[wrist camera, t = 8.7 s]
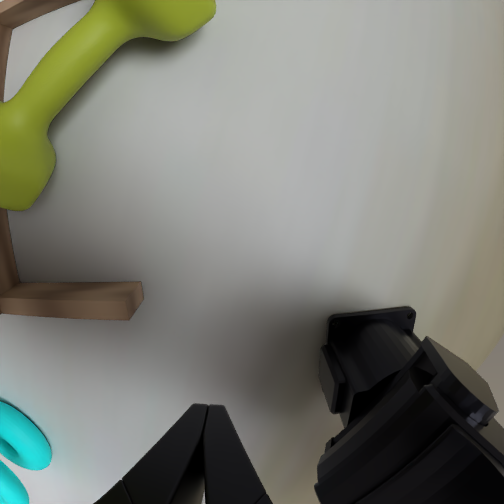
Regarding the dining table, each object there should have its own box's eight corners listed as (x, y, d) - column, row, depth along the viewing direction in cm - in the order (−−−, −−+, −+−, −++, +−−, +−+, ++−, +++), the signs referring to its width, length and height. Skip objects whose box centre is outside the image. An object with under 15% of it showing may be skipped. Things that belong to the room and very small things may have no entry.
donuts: (37, 528, 16) (-29, 490, 15) (64, 467, 25) (3, 440, 25) (-3, 481, 13) (-69, 435, 13) (41, 412, 23) (-24, 383, 22)
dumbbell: (158, -32, 14) (129, -93, 7) (235, 32, 15) (230, -32, 8) (-3, 137, 16) (-73, 138, 9) (49, 212, 18) (-22, 238, 11)
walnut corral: (135, -28, 13) (111, -65, 9) (143, 298, 20) (117, 338, 15) (4, 22, 13) (-33, 6, 9) (13, 296, 19) (-24, 324, 15)
